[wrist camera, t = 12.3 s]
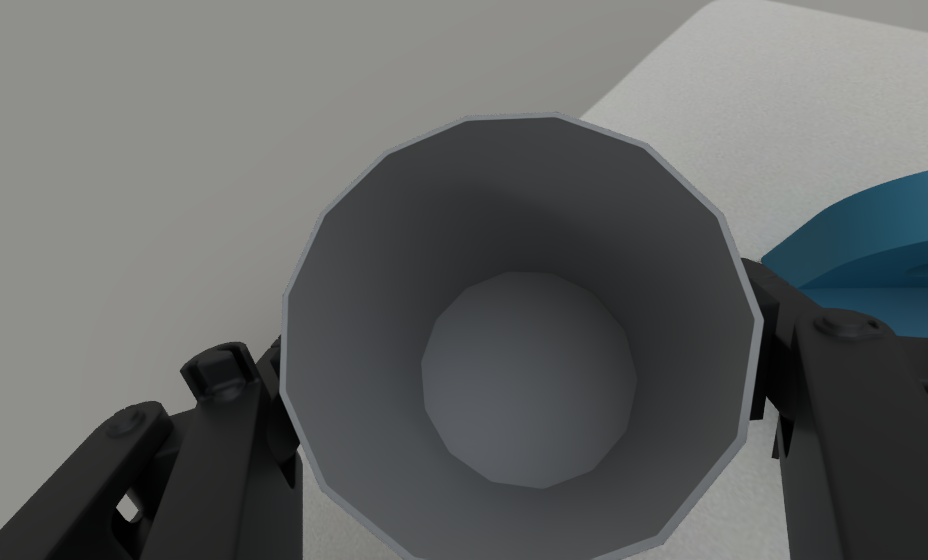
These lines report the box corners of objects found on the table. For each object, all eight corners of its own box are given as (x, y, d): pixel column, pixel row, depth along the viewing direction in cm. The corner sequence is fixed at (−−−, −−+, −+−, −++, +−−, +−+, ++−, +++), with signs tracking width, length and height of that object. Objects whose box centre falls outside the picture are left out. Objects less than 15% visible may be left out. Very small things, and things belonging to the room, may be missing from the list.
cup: (686, 406, 15) (899, 377, 6) (498, 538, 15) (418, 718, 6) (545, 237, 18) (542, 46, 9) (388, 344, 18) (222, 258, 9)
